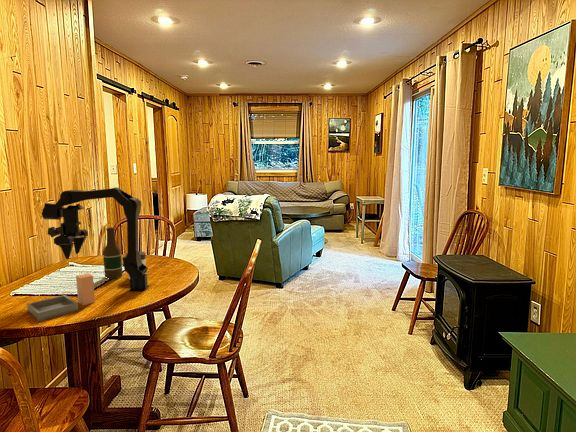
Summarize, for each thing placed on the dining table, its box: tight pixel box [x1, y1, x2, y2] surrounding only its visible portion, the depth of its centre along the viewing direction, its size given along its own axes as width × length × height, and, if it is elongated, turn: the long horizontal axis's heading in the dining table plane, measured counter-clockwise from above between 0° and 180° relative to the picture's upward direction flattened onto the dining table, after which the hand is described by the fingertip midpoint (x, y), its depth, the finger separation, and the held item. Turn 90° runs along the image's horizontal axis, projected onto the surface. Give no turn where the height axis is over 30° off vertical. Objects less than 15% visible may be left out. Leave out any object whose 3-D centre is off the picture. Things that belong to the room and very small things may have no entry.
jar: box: [128, 251, 147, 280], centre depth 188 cm, size 9×8×12 cm
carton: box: [75, 272, 96, 306], centre depth 156 cm, size 5×5×11 cm
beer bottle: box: [102, 226, 123, 280], centre depth 188 cm, size 8×8×24 cm
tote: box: [26, 294, 79, 322], centre depth 148 cm, size 13×13×3 cm
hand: (72, 256), depth 169 cm, fingers open, 9 cm apart
